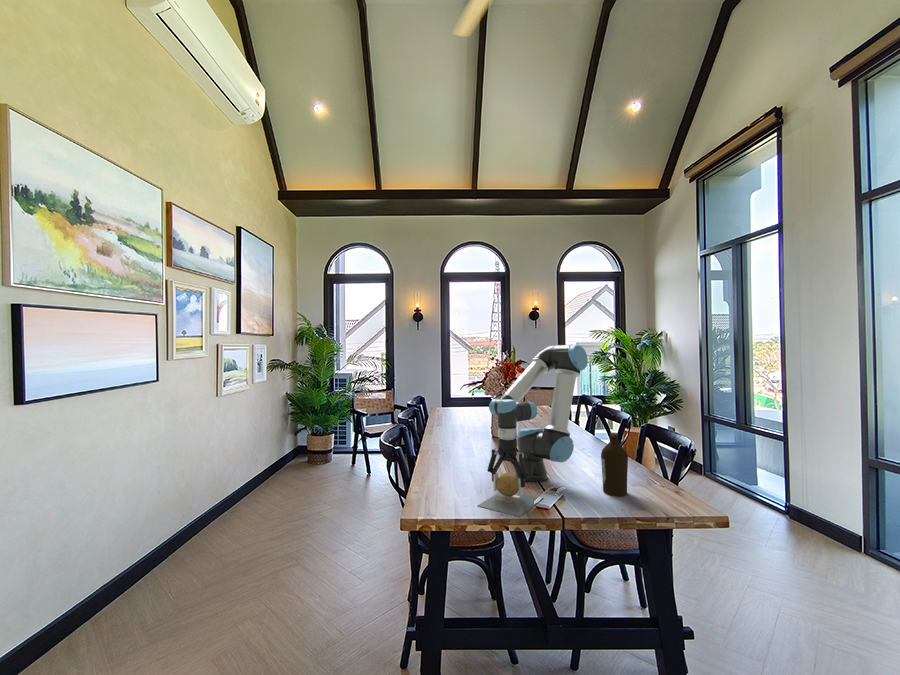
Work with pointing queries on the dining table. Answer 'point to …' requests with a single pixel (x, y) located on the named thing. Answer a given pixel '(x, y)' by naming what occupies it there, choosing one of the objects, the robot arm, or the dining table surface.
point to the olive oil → (614, 467)
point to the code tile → (509, 503)
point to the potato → (507, 484)
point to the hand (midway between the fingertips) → (508, 492)
